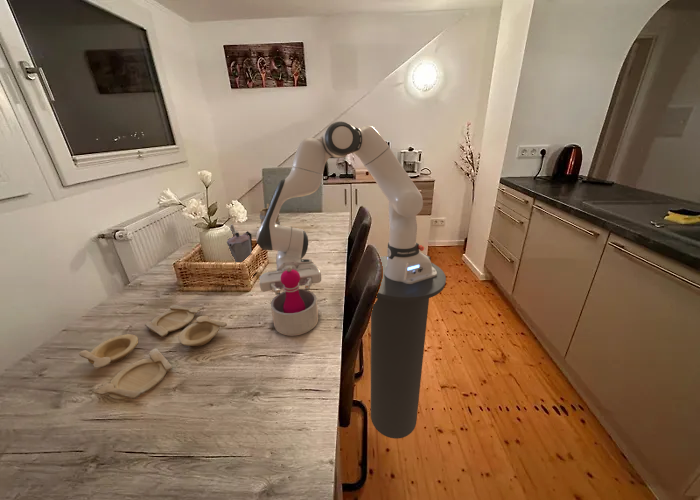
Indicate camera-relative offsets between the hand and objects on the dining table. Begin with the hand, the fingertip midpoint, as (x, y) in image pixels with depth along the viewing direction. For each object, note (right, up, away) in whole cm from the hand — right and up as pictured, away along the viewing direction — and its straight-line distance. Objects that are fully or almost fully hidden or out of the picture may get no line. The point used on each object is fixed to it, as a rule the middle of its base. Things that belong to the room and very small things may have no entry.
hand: (292, 290), depth 88 cm
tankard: (-33, +26, +93) cm, 102 cm away
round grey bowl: (0, -11, +6) cm, 13 cm away
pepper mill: (0, -11, +6) cm, 12 cm away
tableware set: (-39, -17, -4) cm, 43 cm away
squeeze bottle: (-38, +8, +53) cm, 65 cm away
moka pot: (-28, +2, +38) cm, 47 cm away
